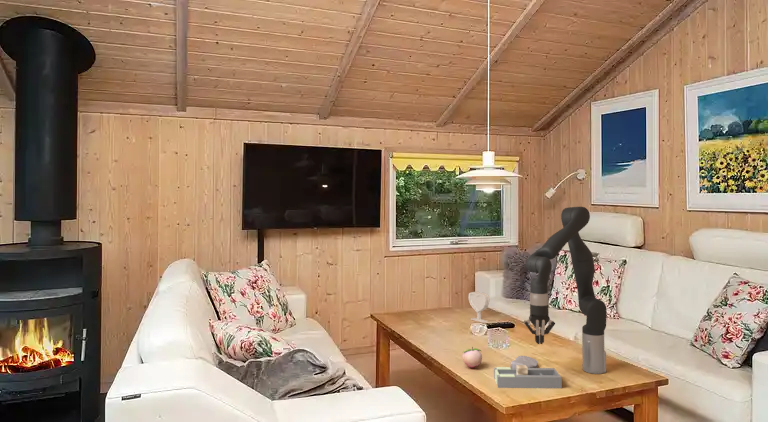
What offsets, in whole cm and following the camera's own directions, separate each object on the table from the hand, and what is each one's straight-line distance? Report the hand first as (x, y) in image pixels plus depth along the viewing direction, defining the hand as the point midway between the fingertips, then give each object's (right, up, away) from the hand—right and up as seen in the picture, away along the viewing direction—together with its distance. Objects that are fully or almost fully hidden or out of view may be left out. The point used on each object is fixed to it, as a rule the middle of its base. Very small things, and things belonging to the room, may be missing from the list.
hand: (539, 343), depth 214 cm
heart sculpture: (-5, -14, +111) cm, 112 cm away
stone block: (0, -17, +20) cm, 26 cm away
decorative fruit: (-25, -17, +20) cm, 36 cm away
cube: (-7, -14, +1) cm, 16 cm away
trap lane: (-5, -17, +1) cm, 18 cm away
